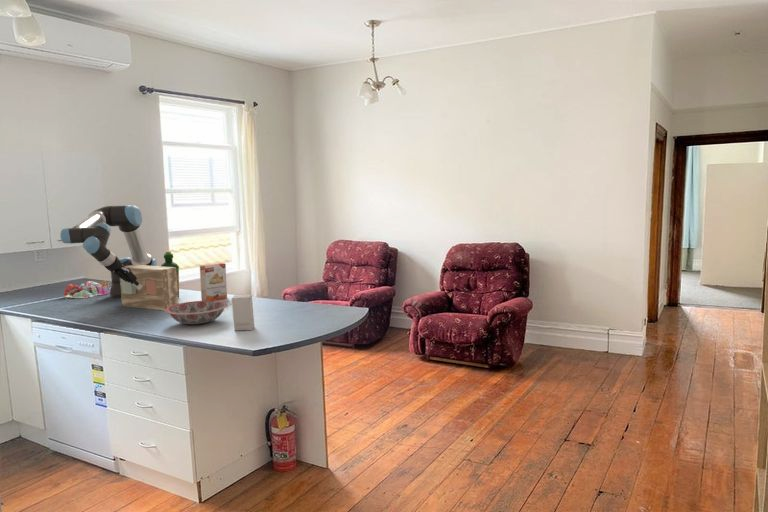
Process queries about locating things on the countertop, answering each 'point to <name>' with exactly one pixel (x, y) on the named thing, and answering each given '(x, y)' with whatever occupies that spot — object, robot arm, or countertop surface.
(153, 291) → the terracotta button
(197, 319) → the ceramic bowl
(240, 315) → the skincare box
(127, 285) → the sage button
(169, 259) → the bottle
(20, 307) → the countertop surface
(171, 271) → the block
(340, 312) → the countertop surface
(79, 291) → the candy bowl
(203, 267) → the cracker box
